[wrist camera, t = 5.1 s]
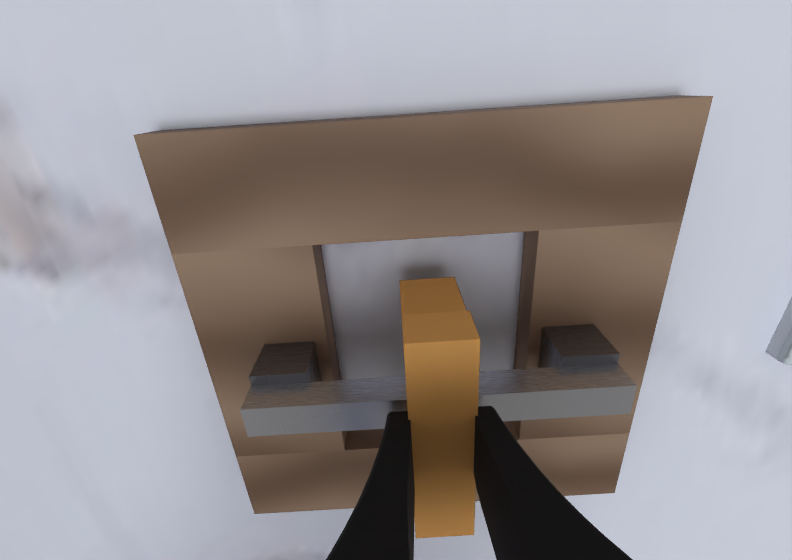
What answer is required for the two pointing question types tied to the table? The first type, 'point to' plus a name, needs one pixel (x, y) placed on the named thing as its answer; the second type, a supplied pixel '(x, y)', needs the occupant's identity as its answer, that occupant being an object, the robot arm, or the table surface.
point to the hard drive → (782, 339)
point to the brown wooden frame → (425, 218)
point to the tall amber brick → (441, 403)
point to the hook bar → (375, 397)
